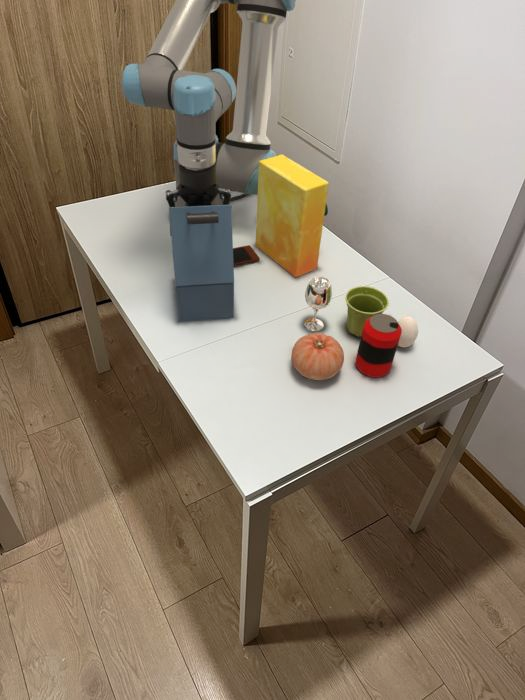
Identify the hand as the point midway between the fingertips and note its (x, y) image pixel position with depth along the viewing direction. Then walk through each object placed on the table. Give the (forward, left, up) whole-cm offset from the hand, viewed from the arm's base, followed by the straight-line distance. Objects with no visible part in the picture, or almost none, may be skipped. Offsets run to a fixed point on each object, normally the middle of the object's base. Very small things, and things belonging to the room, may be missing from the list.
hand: (201, 260), depth 122 cm
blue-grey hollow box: (+1, +2, -10) cm, 10 cm away
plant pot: (-23, +31, -10) cm, 40 cm away
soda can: (-17, +41, -10) cm, 45 cm away
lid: (+3, +6, +8) cm, 11 cm away
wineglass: (-15, +24, -10) cm, 30 cm away
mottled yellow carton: (-29, -1, -10) cm, 31 cm away
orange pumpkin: (-6, +35, -10) cm, 37 cm away
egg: (-27, +40, -10) cm, 49 cm away
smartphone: (-13, -8, -10) cm, 18 cm away
